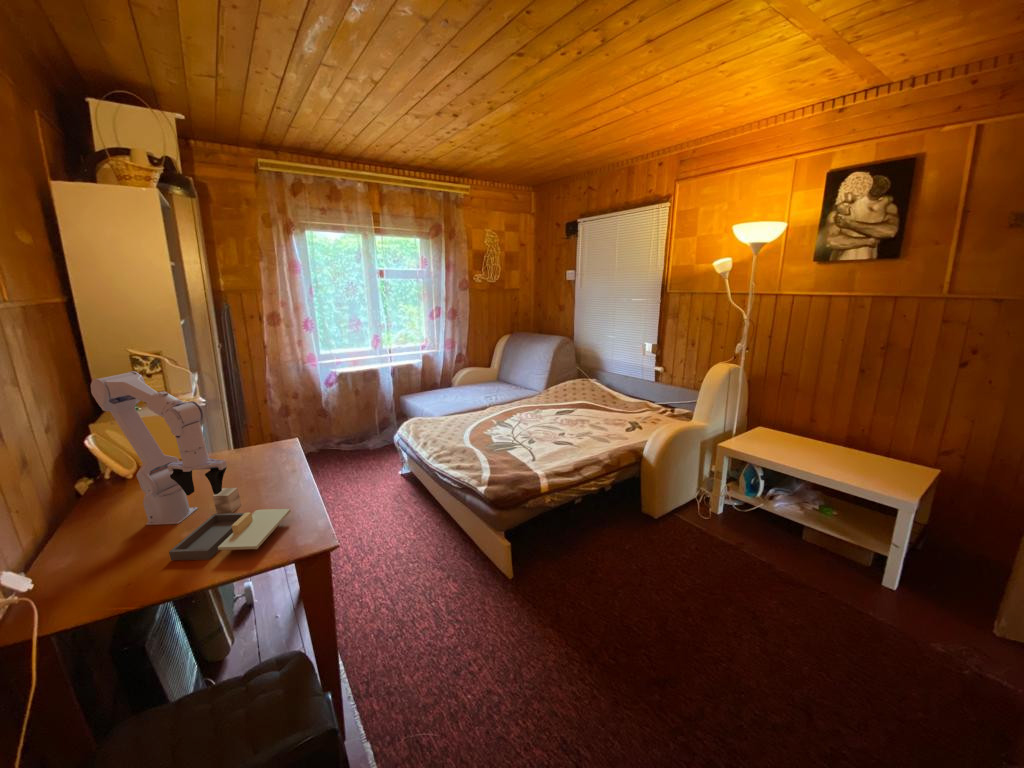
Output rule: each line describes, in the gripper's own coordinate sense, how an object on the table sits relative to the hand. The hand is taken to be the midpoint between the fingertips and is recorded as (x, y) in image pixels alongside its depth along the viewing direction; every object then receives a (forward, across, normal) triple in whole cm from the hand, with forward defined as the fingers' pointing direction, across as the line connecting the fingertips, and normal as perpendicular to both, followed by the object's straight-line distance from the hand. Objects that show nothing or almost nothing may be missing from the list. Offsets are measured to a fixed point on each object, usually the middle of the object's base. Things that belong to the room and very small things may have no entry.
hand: (204, 493), depth 116 cm
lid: (+8, +17, -6) cm, 19 cm away
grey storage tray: (+10, +4, -6) cm, 13 cm away
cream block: (+10, -1, +8) cm, 13 cm away
